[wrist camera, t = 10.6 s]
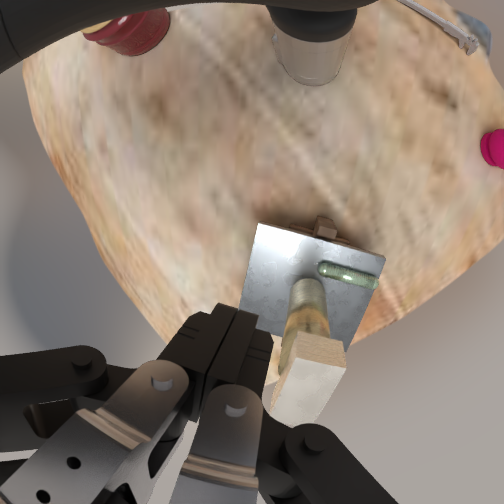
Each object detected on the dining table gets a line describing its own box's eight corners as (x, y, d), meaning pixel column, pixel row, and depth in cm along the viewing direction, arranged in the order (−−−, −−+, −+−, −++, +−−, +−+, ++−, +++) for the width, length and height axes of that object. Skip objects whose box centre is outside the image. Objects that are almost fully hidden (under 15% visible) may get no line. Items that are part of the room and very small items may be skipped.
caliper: (468, 53, 29) (484, 44, 23) (467, 56, 29) (482, 47, 23) (381, -12, 29) (387, -28, 23) (379, -9, 29) (385, -26, 23)
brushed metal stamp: (237, 318, 44) (189, 420, 24) (260, 221, 38) (210, 282, 18) (345, 346, 42) (357, 456, 22) (383, 255, 36) (444, 341, 17)
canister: (183, 9, 37) (138, -34, 20) (151, 62, 41) (92, 33, 24) (136, 4, 37) (88, -28, 20) (108, 52, 41) (50, 31, 25)
